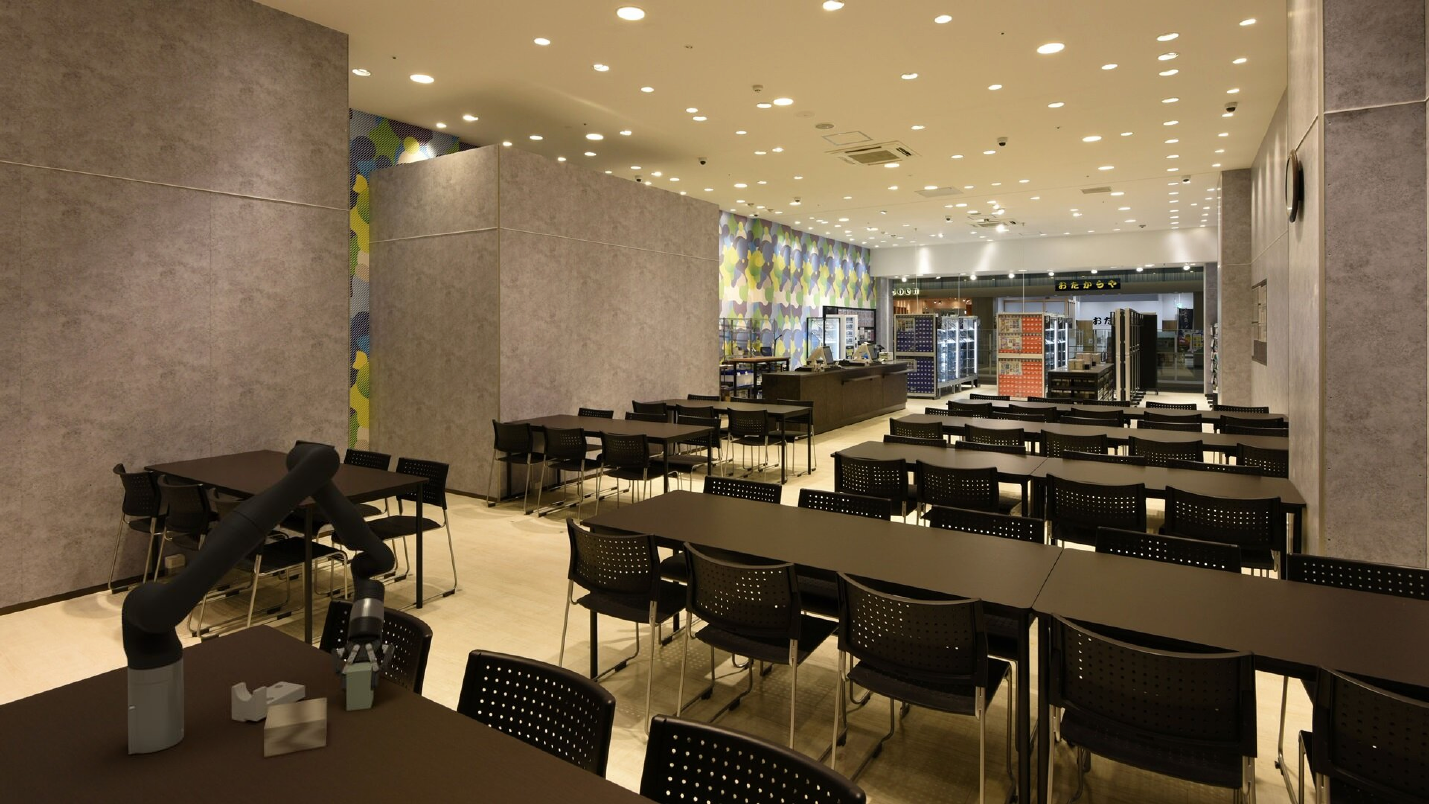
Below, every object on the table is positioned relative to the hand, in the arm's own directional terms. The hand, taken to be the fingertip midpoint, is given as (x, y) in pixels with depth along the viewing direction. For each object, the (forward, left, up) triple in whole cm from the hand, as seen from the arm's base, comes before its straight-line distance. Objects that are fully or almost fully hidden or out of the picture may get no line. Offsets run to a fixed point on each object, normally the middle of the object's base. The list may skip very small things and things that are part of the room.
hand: (359, 690), depth 173 cm
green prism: (+1, +2, -4) cm, 5 cm away
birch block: (-14, -8, -4) cm, 16 cm away
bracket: (-17, +11, -5) cm, 20 cm away
